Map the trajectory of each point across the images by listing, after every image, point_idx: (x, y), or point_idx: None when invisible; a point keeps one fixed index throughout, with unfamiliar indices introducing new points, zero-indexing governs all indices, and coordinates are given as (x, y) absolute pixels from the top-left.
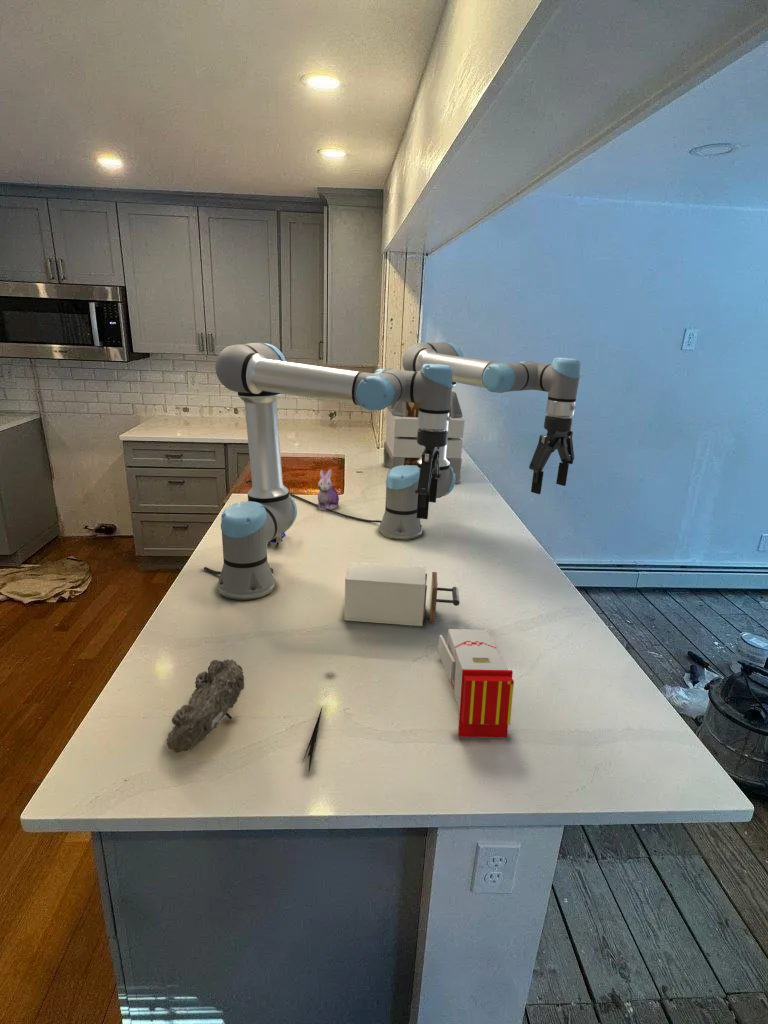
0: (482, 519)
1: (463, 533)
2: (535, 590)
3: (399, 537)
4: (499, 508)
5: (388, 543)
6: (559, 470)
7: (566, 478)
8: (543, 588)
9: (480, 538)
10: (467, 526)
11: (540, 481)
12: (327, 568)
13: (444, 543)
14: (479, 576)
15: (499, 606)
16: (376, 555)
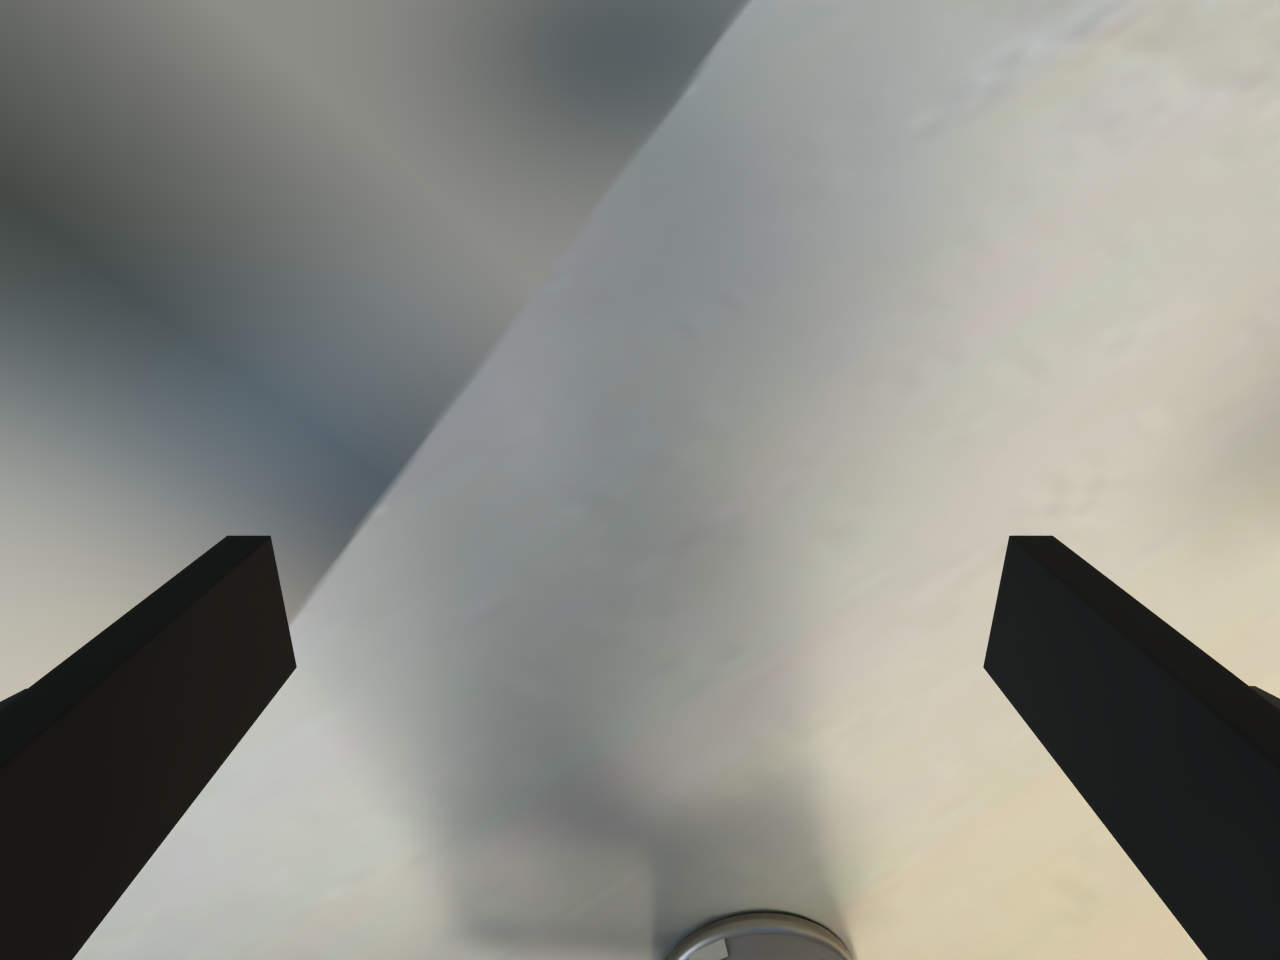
0: (294, 888)
1: (524, 839)
2: (825, 230)
3: (839, 948)
4: None
5: (895, 937)
6: (143, 833)
7: (151, 599)
8: (768, 214)
9: (502, 764)
10: (436, 876)
11: (1218, 670)
12: None
13: (699, 819)
14: (895, 514)
15: (1131, 252)
16: (1035, 892)
